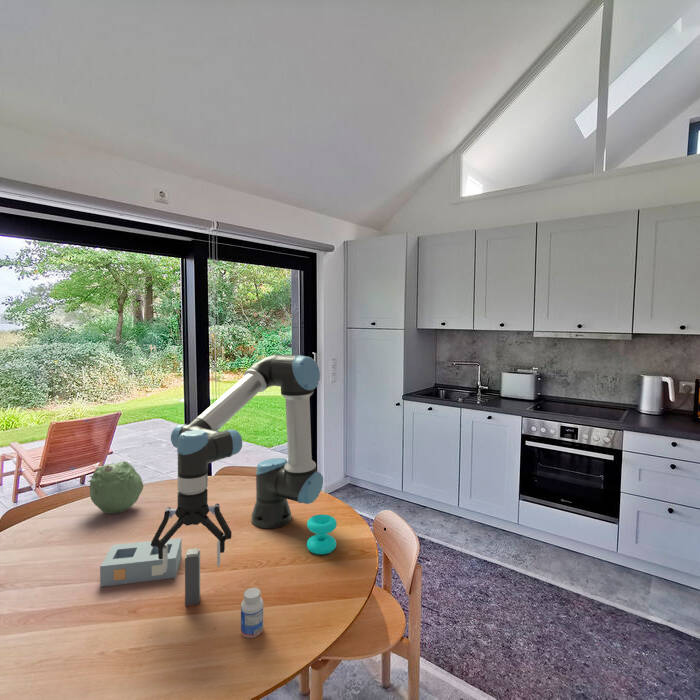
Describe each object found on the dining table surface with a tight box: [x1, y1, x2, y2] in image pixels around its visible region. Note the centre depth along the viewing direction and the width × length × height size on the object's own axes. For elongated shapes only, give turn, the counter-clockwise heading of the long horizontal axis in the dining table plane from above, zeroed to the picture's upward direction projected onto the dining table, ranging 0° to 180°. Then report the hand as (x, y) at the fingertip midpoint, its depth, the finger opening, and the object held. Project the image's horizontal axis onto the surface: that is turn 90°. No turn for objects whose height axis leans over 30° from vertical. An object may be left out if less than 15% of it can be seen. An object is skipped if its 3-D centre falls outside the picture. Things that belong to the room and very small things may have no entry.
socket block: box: [99, 537, 183, 588], centre depth 127 cm, size 20×12×6 cm, turn 104°
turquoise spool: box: [306, 513, 338, 555], centre depth 142 cm, size 10×10×10 cm
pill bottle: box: [240, 587, 264, 639], centre depth 103 cm, size 6×5×10 cm
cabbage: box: [87, 461, 144, 515], centre depth 166 cm, size 16×19×20 cm
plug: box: [184, 547, 201, 607], centre depth 114 cm, size 4×4×14 cm
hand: (192, 566), depth 114 cm, fingers open, 13 cm apart
